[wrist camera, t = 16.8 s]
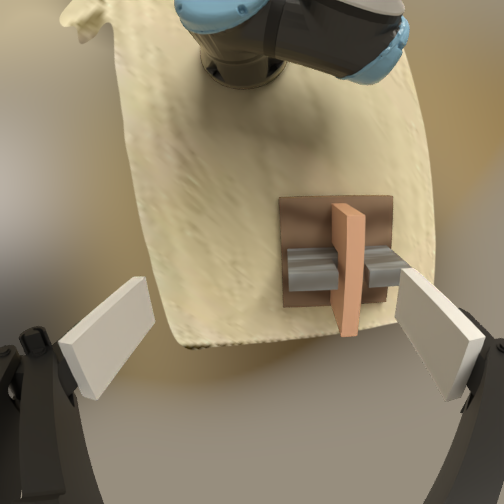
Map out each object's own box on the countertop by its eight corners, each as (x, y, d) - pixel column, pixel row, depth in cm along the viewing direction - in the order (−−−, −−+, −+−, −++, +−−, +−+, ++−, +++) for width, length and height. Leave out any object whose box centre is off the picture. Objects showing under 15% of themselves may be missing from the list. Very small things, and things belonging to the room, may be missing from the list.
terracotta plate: (331, 203, 46) (347, 215, 35) (345, 203, 46) (365, 215, 35) (330, 301, 52) (341, 337, 40) (343, 300, 51) (356, 335, 40)
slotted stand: (279, 197, 48) (278, 208, 36) (390, 195, 46) (423, 206, 33) (283, 303, 54) (282, 344, 41) (383, 298, 52) (407, 334, 39)
